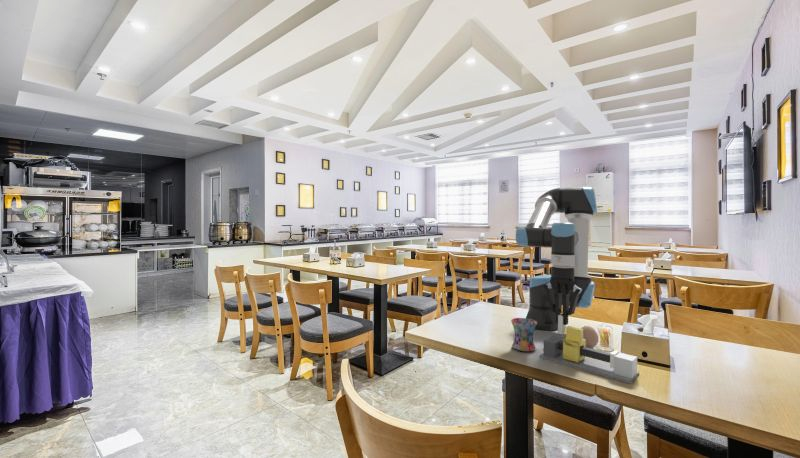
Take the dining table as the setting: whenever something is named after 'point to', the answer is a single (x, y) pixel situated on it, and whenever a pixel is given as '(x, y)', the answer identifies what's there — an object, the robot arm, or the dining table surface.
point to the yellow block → (573, 344)
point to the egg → (590, 336)
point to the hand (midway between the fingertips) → (561, 333)
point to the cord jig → (618, 369)
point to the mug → (523, 334)
